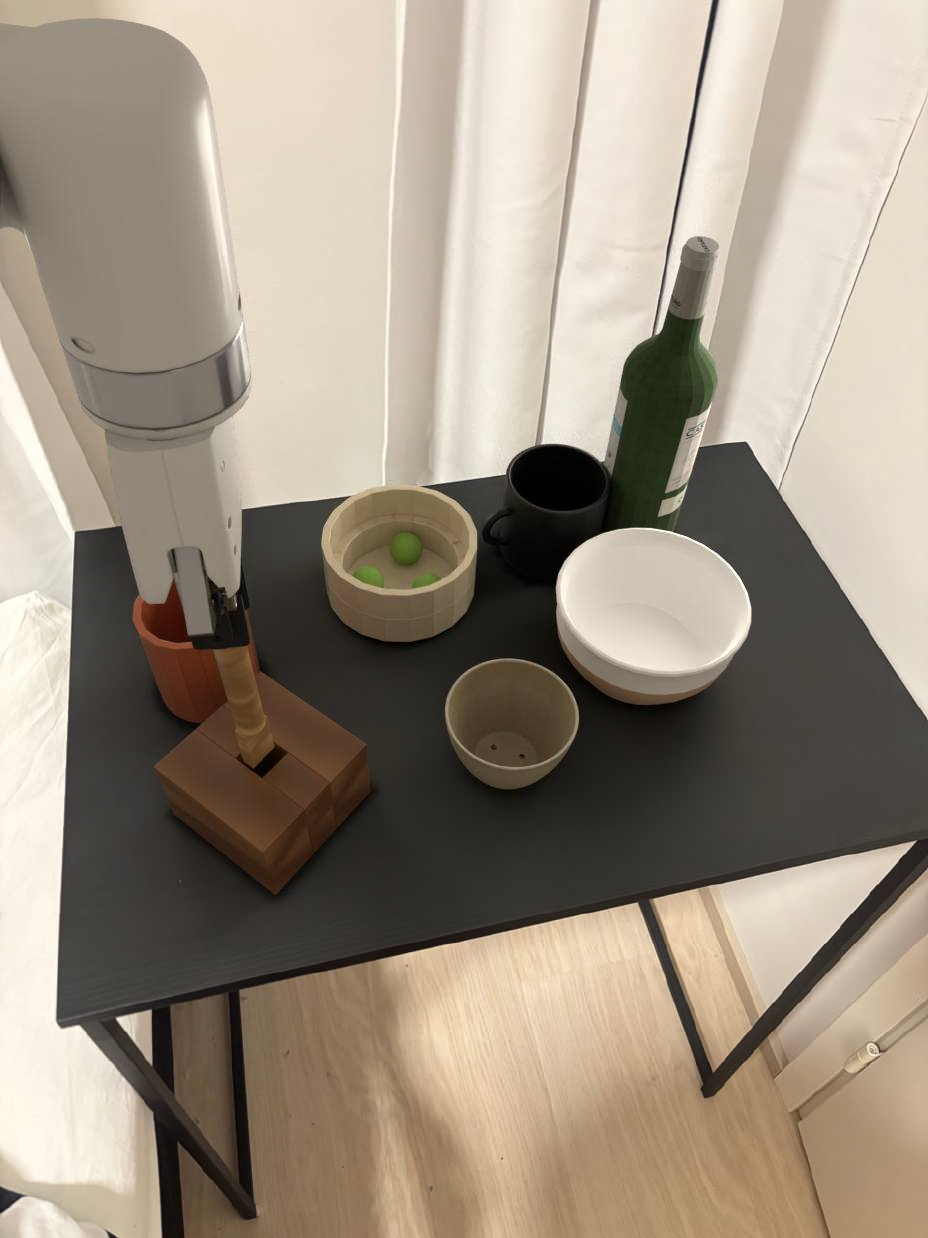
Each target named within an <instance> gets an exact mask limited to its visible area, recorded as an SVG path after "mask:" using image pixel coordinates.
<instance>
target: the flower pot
mask: <svg viewBox="0 0 928 1238" xmlns="http://www.w3.org/2000/svg"><path fill="white" fill-rule="evenodd" d="M579 712H580V711H579V706H578V704H577V701H576V698H575V695H574V694H573V692H572V691H571V689H570V688H569V686H568V685H567V684H566V683H565V682H564V681H563V679H561V677H559V676H558V675H557V674H556V673H554V672H553V671H552V670H550V669H549V668H547V667H544V666H543V665H540V664H538V663H536V662H532V661H529V660H525V659H517V658H497V659H492V660H487V661H484V662H481V663H479V664H476V665H474V666H473V667H471V668H469V669H467V670H466V671H464V673H462V674H461V675H460V676H459V677H458V678H457V679H456V680H455V682H454V683H453V684H452V686H451V688H450V689H449V691H448V693H447V696H446V700H445V705H444V717H445V718H444V719H445V725H446V729H447V733H448V736H449V740H450V742H451V745H452V747H453V749H454V752H455V753H456V755H457V757H458V758H459V760H460V762H461V763H462V764H463V766H465V768H466V769H467V771H469V772H470V773H471V774H472V776H474V778H477V779H478V780H479V781H481V782H482V783H484V784H486V785H488V786H489V787H493V788H495V789H500V790H517V789H520V788H521V789H522V788H525V787H527V786H530V785H532V784H534V783H536V782H538V781H540V780H541V779H542V778H544V777H545V776H546V775H548V774H549V773H550V772H551V771H553V769H555V768H556V767H557V765H558V764H560V762H561V761H562V759H564V757H565V756H566V754H567V753H568V751H569V749H570V748H571V746H572V743H573V742H574V740H575V738H576V735H577V732H578V730H579V729H578V728H579V724H580V723H579V722H580V714H579Z"/></svg>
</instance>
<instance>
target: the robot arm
mask: <svg viewBox="0 0 928 1238" xmlns="http://www.w3.org/2000/svg"><path fill="white" fill-rule="evenodd" d="M211 97H212V96H211V92H210V87H209V83H208V79H207V77H206V75H205V72H204V70H203V68H202V66H201V65H200V63H199V61H198V59H197V57H196V56H195V54H194V53H193V52H192V51H191V50H190V49H189V47H187V45H185V44H184V42H182V41H181V40H180V39H177V38H176V37H175V36H173V35H172V34H170V33H168V32H167V31H164V30H163V29H160V28H157V27H154V26H151V25H147V24H144V23H139V22H135V21H130V20H129V21H128V20H125V19H123V20H122V19H116V18H115V19H114V18H97V17H96V18H92V17H91V18H77V19H76V18H75V19H73V18H72V19H65V20H59V21H52V22H47V23H43V24H39V25H37V26H26V25H17V24H8V23H2V22H0V231H1V230H3V229H5V228H12V229H15V230H17V231H19V232H20V233H22V235H23V236H24V237H25V239H26V241H27V244H28V248H29V251H30V253H31V257H32V260H33V263H34V266H35V270H36V272H37V275H38V278H39V282H40V285H41V288H42V291H43V294H44V297H45V299H46V303H47V307H48V309H49V313H50V316H51V318H52V321H53V324H54V328H55V330H56V334H57V337H58V340H59V343H60V346H61V349H62V352H63V355H64V359H65V361H66V364H67V365H66V366H67V368H68V372H69V373H70V377H71V380H72V382H73V386H74V389H75V392H76V395H77V398H78V402H79V404H80V407H81V409H82V411H83V413H84V414H85V416H86V417H87V418H89V419H90V420H91V422H93V424H95V425H97V426H99V427H100V428H102V429H103V430H104V438H105V446H106V455H107V461H108V467H109V473H110V479H111V485H112V489H113V494H114V498H115V503H116V507H117V508H116V509H117V512H118V516H119V520H120V521H119V522H120V524H121V529H122V532H123V533H122V534H123V536H124V540H125V544H126V548H127V552H128V556H129V560H130V564H131V567H132V572H133V575H134V578H135V579H134V580H135V582H136V586H137V590H138V594H140V596H141V597H142V599H143V600H144V601H145V602H147V603H148V604H165V602H166V599H167V596H168V593H169V591H170V588H171V584H172V581H173V578H174V580H175V584H176V587H177V591H178V594H179V598H180V602H181V606H182V610H183V613H184V617H185V620H186V626H187V632H188V636H189V637H190V638H191V642H192V645H193V648H194V649H196V650H208V649H213V650H219V649H227V648H232V647H244V646H247V645H249V644H250V633H249V628H248V623H247V618H246V613H245V610H247V611H248V609H249V608H250V607H251V603H250V602H251V598H250V594H249V589H248V582H247V577H246V573H245V567H244V561H243V557H242V536H243V535H242V531H243V505H242V503H243V499H242V498H243V497H242V494H243V493H242V473H241V461H240V452H239V451H240V450H239V444H238V437H237V430H236V424H235V418H234V415H236V414H237V413H238V412H239V411H240V410H241V409H242V408H243V407H244V406H245V404H246V402H247V401H248V399H249V398H250V395H251V394H252V390H253V374H252V368H251V367H252V366H251V360H250V354H249V353H250V352H249V347H248V340H247V339H248V338H247V333H246V326H245V319H244V314H243V308H242V307H243V306H242V299H241V292H240V291H241V290H240V286H239V280H238V274H237V273H238V272H237V266H236V265H237V264H236V257H235V250H234V244H233V237H232V230H231V222H230V216H229V210H228V202H227V197H226V196H227V195H226V190H225V181H224V176H223V175H224V174H223V168H222V161H221V155H220V149H219V141H218V134H217V127H216V122H215V114H214V107H213V102H212V98H211ZM209 583H215V584H216V585H217V586H218V587H219V588H221V589H212V590H210V588H209Z"/></svg>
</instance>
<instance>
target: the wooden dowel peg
mask: <svg viewBox="0 0 928 1238" xmlns="http://www.w3.org/2000/svg"><path fill="white" fill-rule="evenodd" d="M209 588H210V590H212V589H221V588H219V587H218V586H217V585H216V584H215V583H209ZM213 652H214V655H215V659H216V662H217V665H218V669H219V672H220V676H221V679H222V682H223V686H224V689H225V692H226V696H227V699H228V702H229V706H230V709H231V712H232V716H233V719H234V722H235V726H236V730H235V735H236V738H237V741H238V745H239V748H240V751H241V755H242V758H243V761H244V762H245V763H246V764H248V765H249V766H251V767H252V768H255V767H256V766H257V765H258V764H259V763H260V762H261V761H262V759H263V758H264V757H265V756H266V755H267V754H268V753H269V752H270V751H271V750H272V749H273V748H274V742H273V738H272V734H271V730H270V726H269V722H268V718H267V716H266V715H264V712H263V708H262V704H261V700H260V696H259V692H258V688H257V684H256V680H255V676H254V672H253V668H252V664H251V660H250V656H249V652H248V648H247V646H244V647H232V648H227V649H219V650H213Z"/></svg>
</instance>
